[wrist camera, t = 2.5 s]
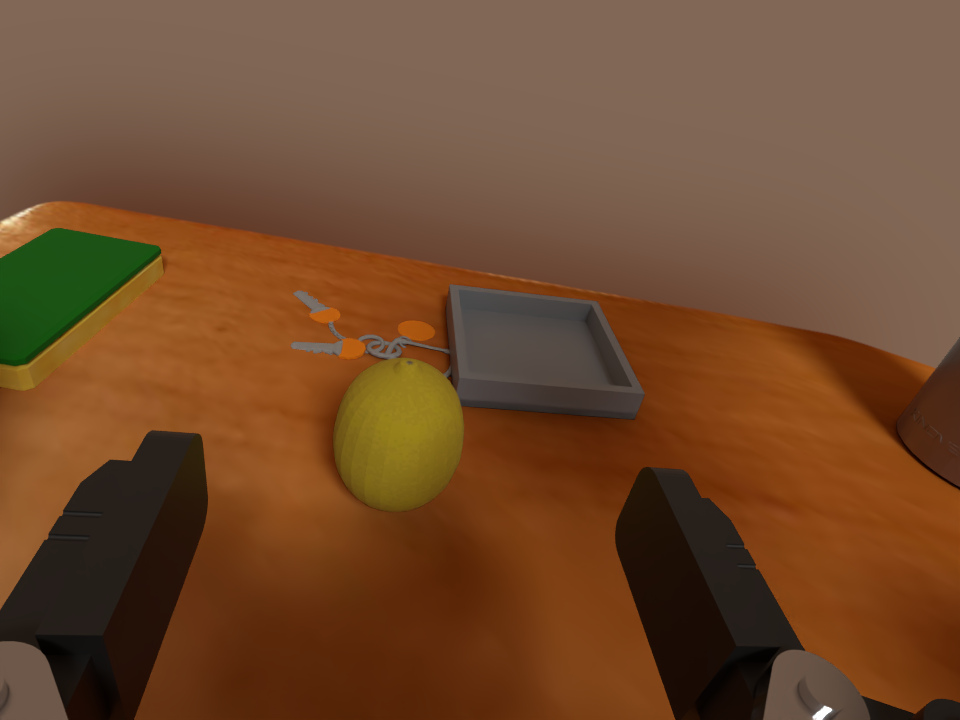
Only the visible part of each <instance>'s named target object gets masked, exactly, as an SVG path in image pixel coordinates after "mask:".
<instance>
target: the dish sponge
mask: <svg viewBox="0 0 960 720" xmlns="http://www.w3.org/2000/svg"><path fill="white" fill-rule="evenodd" d="M160 254H161V249H160V248H159V246H156V245H150V244H145V243H139V242H134V241H128V240H123V239H117V238H112V237H106V236H101V235H96V234H90V233H85V232H79V231H74V230H68V229H63V228H55V229H51V230H49V231H47V232H46V233H44V234H42V235H40V236H39V237H37V238H35V239H33V240H32V241H30V242H28V243H26V244H25V245H23V246H21V247H19V248H18V249H16V250H14V251H12V252H11V253H9V254H7V255H5V256H4V257H2V258H0V387H3V388H9V389H15V390H21V391H24V390H28V389H32V388H35V387H36V386H37V385H38V384H40V383H41V382H42V381H43V380H44V379H45V378H46V377H47V376H49V375H50V374H51V373H52V372H53V371H54V370H55V369H57V368H58V367H59V366H60V365H61V364H62V363H63V362H65V361H66V360H67V359H68V358H69V357H70V356H71V355H73V354H74V353H75V352H76V351H77V350H78V349H79V348H81V347H82V346H83V345H84V344H85V343H86V342H87V341H88V340H90V339H91V338H92V337H93V336H94V335H95V334H96V333H98V332H99V331H100V330H101V329H102V328H103V327H104V326H106V325H107V324H108V323H109V322H110V321H111V320H112V319H114V318H115V317H116V316H117V315H118V314H119V313H120V312H122V311H123V310H124V309H125V308H126V307H127V306H128V305H129V304H131V303H132V302H133V301H134V300H135V299H136V298H137V297H139V296H140V295H141V294H142V293H143V292H144V291H145V290H147V289H148V288H149V287H150V286H151V285H152V284H153V283H155V282H156V281H157V280H158V279H159V278H160V277H161V276H163V275H164V270H163V262H162V257H161V256H160Z"/></svg>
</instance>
